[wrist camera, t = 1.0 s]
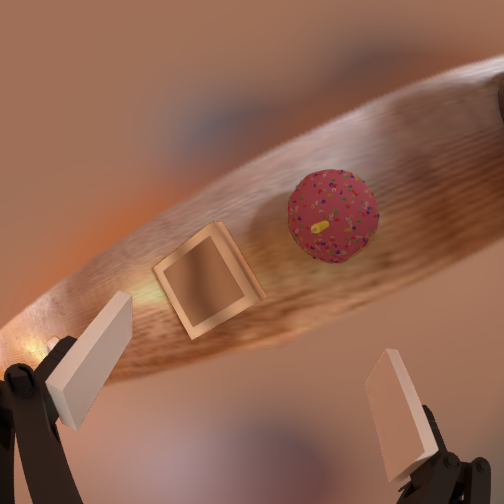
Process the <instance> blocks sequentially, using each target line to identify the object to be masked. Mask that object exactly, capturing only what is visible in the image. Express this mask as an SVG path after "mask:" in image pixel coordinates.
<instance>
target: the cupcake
mask: <svg viewBox="0 0 504 504" xmlns="http://www.w3.org/2000/svg"><path fill="white" fill-rule="evenodd" d="M378 218H379V214H378V206H377V203H376V200H375V197H374V195H373V193H372V192H371V190H370V189H369V187H368V186H367V185H366V183H365V182H364V181H363V180H362V179H360V178H359V177H357V176H356V175H354V174H352V173H350V172H347V171H343V170H332V169H330V170H323V171H319V172H314V173H311V174H309V175H308V176H306V177H305V178H304V179H303V180H302V181H300V184H299V185H297V186H296V189H295V191H294V192H293V194H292V195H291V197H289V202H288V223H289V225H288V228H289V229H290V232H291V234H292V236H293V238H294V240H295V241H296V242H297V244H298V245H299V246H300V247H301V248H302V249H303V250H304V251H305V252H307V253H308V254H309V255H311V256H312V257H313V258H314V259H318V260H321V261H324V262H327V263H329V264H332V263H341V262H345V261H346V260H348V259H349V258H350V257H353V256H355V255H357V254H358V253H359V252H361V251H362V250H363V249H364V248H366V247H367V246H368V245H369V244H370V242H371V241H372V239H373V236H374V234H375V230H376V229H377V226H378Z"/></svg>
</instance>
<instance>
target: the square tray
mask: <svg viewBox="0 0 504 504" xmlns="http://www.w3.org/2000/svg"><path fill="white" fill-rule="evenodd" d="M154 270H155V272H156V274H157V276H158V278H159V280H160V282H161V284H162V286H163V288H164V290H165V292H166V294H167V296H168V298H169V300H170V301H171V303H172V305H173V307H174V309H175V311H176V313H177V314H178V316H179V318H180V320H181V322H182V323H183V325H184V327H185V329H186V331H187V332H188V334H189V336H190V338H191V339H192V340H193V339H195V338H197V337H199V336H201V335H203V334H204V333H206V332H208V331H210V330H211V329H213V328H215V327H217V326H218V325H220V324H222V323H223V322H225V321H227V320H229V319H230V318H232V317H234V316H235V315H237V314H239V313H241V312H242V311H244V310H246V309H247V308H249V307H251V306H252V305H254V304H256V303H257V302H259V301H261V300H262V299H264V298H266V297H267V296H266V294H265V293H264V291H263V289H262V288H261V286H260V284H259V283H258V281H257V279H256V278H255V276H254V274H253V273H252V271H251V269H250V268H249V266H248V264H247V263H246V261H245V259H244V258H243V256H242V254H241V252H240V251H239V249H238V247H237V246H236V244H235V242H234V241H233V239H232V237H231V236H230V234H229V232H228V231H227V229H226V227H225V225H224V224H223V222H217V221H212V222H211V223H209V224H208V225H207V226H206V227H204V228H203V229H202V230H200V231H199V232H198V233H196V234H195V235H194V236H193V237H191V238H190V239H189V240H187V241H186V242H185V243H184V244H182V245H181V246H180V247H179V248H177V249H176V250H175V251H174V252H172V253H171V254H170V255H168V256H167V257H166V258H165V259H164V260H162V261H161V262H160V263H159V264H157V265H156V266H155V267H154Z"/></svg>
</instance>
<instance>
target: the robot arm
mask: <svg viewBox="0 0 504 504" xmlns="http://www.w3.org/2000/svg"><path fill="white" fill-rule="evenodd" d="M499 106H500V111H501V115H502V118H503V121H504V78H503V80H502V82H501V84H500V88H499ZM131 338H132V294H129V293H125V292H122V291H119V290H118V292H117V293H116V294H115V295H114V296H113V297H112V299H111V300H110V301H109V302H108V303H107V304H106V306H105V307H104V308H103V309H102V310H101V312H100V313H99V314H98V315H97V316H96V318H95V319H94V320H93V321H92V322H91V324H90V325H89V326H88V327H87V329H86V330H85V331H84V332H83V333H82V335H81V336H80V337H79V338H78V339H76V338H73V337H71V336H67V337H65V338H63V339H61V340H59V341H58V343H57V344H56V345H55V346H54V347H53V350H51V351H50V352H49V353H48V356H46V357H45V358H44V359H43V361H42V362H41V363H40V364H39V366H38V367H37V368H36V369H35V371H33V369H32V368H31V367H30V366H28V365H26V364H22V363H17V364H14V365H11V366H10V367H9V368H7V370H6V371H5V374H4V380H5V381H2V380H0V504H15V500H14V445H15V432H16V438H17V443H18V448H19V453H20V458H21V462H22V467H23V471H24V475H25V478H26V482H27V485H28V489H29V492H30V496H31V499H32V502H33V504H83V502H82V500H81V497H80V495H79V492H78V490H77V487H76V485H75V482H74V480H73V477H72V474H71V471H70V469H69V466H68V463H67V460H66V457H65V453H64V450H63V447H62V444H61V441H60V437H59V433H58V430H57V426H56V424H55V422H56V420H57V419H58V417H60V420H61V422H62V424H64V425H66V426H68V427H70V428H72V429H74V430H76V431H78V430H79V428H80V426H81V424H82V422H83V420H84V419H85V417H86V415H87V413H88V411H89V410H90V408H91V406H92V404H93V402H94V400H95V399H96V397H97V395H98V393H99V392H100V390H101V388H102V387H103V385H104V383H105V381H106V380H107V378H108V376H109V375H110V373H111V371H112V369H113V368H114V366H115V364H116V363H117V361H118V359H119V358H120V356H121V354H122V353H123V351H124V349H125V348H126V346H127V344H128V343H129V341H130V340H131ZM364 386H365V389H366V393H367V396H368V400H369V404H370V407H371V411H372V415H373V418H374V422H375V426H376V430H377V434H378V438H379V442H380V447H381V451H382V455H383V459H384V463H385V468H386V473H387V477H388V482H389V483H391V482H399V481H403V480H404V479H405V478H407V477H408V476H409V475H410V477H411V481H409V482H408V483H407V484H406V485H404V486H403V487H401V488H400V489H399V490H398V492H400V491H402V490H403V489H404V491H403V493H402V494H401V496H400V498H399V500H398V501H397V503H396V504H490V494H491V468H490V465H489V463H488V461H487V460H486V459H484V458H482V457H478V458H476V459H474V460H473V461H472V462H471V463H467V462H461V461H460V460H459V458H458V457H457V456H456V455H455V454H454V453H451V452H448V451H447V449H446V447H445V444H444V441H443V439H442V436H441V434H440V431H439V429H438V426H437V424H436V422H435V419H434V416H433V414H432V412H431V411H430V409H429V408H428V407H427V406H426V405H421V403H420V401H419V398H418V396H417V393H416V391H415V389H414V386H413V384H412V382H411V379H410V377H409V375H408V372H407V370H406V368H405V366H404V364H403V362H402V359H401V357H400V355H399V353H398V351H397V350H394V349H385V350H384V352H383V354H382V356H381V357H380V359H379V361H378V362H377V364H376V366H375V367H374V369H373V371H372V372H371V374H370V375H369V377H368V379H367V380H366V382H365V384H364ZM463 495H464V500H462V496H463Z"/></svg>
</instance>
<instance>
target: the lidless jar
mask: <svg viewBox="0 0 504 504" xmlns="http://www.w3.org/2000/svg"><path fill="white" fill-rule="evenodd" d="M58 341H59V339H58V338H57V337H52V338H51V339H50V340H49V341H48V342H47V343H46V344H45V346H44V349H45V353H46V355H47V356H48V353H49V352H50V351H51V350H53V347H54V346H55V345H56V344H57V343H58Z"/></svg>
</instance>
